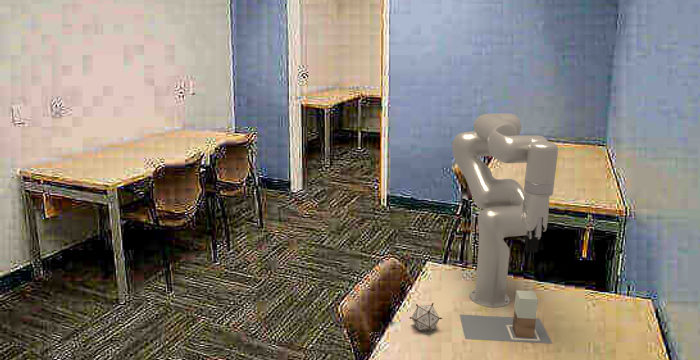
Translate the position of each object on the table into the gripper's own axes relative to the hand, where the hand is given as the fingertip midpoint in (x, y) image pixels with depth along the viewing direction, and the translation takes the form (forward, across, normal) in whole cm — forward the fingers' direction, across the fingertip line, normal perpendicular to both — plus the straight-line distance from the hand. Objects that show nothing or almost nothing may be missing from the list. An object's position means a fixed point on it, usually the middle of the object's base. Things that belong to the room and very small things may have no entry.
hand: (531, 251), depth 159 cm
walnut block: (+25, 0, 0) cm, 25 cm away
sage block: (+19, 0, 0) cm, 19 cm away
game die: (+26, 0, -28) cm, 38 cm away
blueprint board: (+26, -2, -5) cm, 27 cm away
